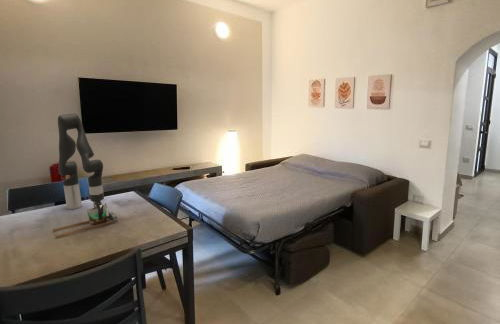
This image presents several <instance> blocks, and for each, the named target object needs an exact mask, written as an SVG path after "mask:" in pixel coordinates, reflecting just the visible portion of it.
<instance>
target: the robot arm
mask: <svg viewBox="0 0 500 324" xmlns="http://www.w3.org/2000/svg"><path fill="white" fill-rule="evenodd" d="M57 127H58V136H59V137H58V158H59V159H58V165H57V166H58V167H57V171H58V174H59V175H60V176H63V177H64V176H65V177H66V176H69V177H68V178H66V179H64V180H63V181H62V184H63V185H62V186H63V190H64V198H65V205H66V209H67V210H76V209H79V208H81V207H82V206H83V205H82V197H81V191H80V183H79V174H78V165H77V162H76V161H74V160H72V161H69V160H70V159H71V158H72V157H73V156H74V155H75V153H76V149H77V152H78V154H79V156H80V158H81V164H82V165H81V166H82V169H83V171H84V172H85V173H86V174H92V173H93V174H92V175H90V176H88V178H87V181H88V193H89V200H90V201H91V202H92V203H93V208H95V207H96V209H98V217H99V220H103V215H102V214H103V202H102V201H103V200H104V199H105V195H104V194H105V193H104V186H103V181H102V177H103V170H104V163H103V161H102V160H101V159H92V160H89V159H91V158H93V157H94V156H95V152H94V150H93V149H92V147H91V145H90V143H89V141H88V138H87V136H86V132H85V129H84V126H83V123H82V120H81V118H80V116H79V115H78V114H77V113H73V112H72V113H67V114H66V113H65V114H61V115H58V118H57ZM74 129H76V131H77V139H76V140H75V139H74V138H73V137H71V136H70V135H69V134H68V132H67V131H68V130H70V131H71V130H74ZM100 211H101V212H100Z"/></svg>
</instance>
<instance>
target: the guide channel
mask: <svg viewBox="0 0 500 324" xmlns="http://www.w3.org/2000/svg"><path fill="white" fill-rule="evenodd" d="M106 218H108V219H110V221H105V222H103V223H100V224H92V225H90V226H87V227H82V228H78V229H75V230H70V231H67V232H62V233H59V234H56V235H54V237H55V239H60V238H62V237H63V238H64V237H67V236H71V235H75V234H78V233H83V232H86V231H89V230H93V229H97V228H101V226H102V227H105V226H109V225H112V223H113V224H116V223H115V222H117V223H118V217H117V215H116V214H115V213H114V211H108V215H106ZM88 224H90V220H89V219H88V220H85V221H81V222H76V223H72V224H68V225H63V226H60V227H55V228H53V229H52V232H53V233H56V232H60V231H63V230H68V229H72V228H75V227H76V228H77V227H80V226H84V225H88Z"/></svg>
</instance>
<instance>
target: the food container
mask: <svg viewBox="0 0 500 324" xmlns="http://www.w3.org/2000/svg"><path fill="white" fill-rule="evenodd" d="M102 205H103V204H102ZM107 209H108V205H107V203H104V205H103V214H102V215H103V220H99V217H98V209H96V207H95V208H94V207H92V208H86V210H85V212H86V213H87V216H88V220H90V223H89V224H90V225H97V224H101V223H105V222H107V221H108V219H107V218H106V216H107ZM100 212H101V211H100Z"/></svg>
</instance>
